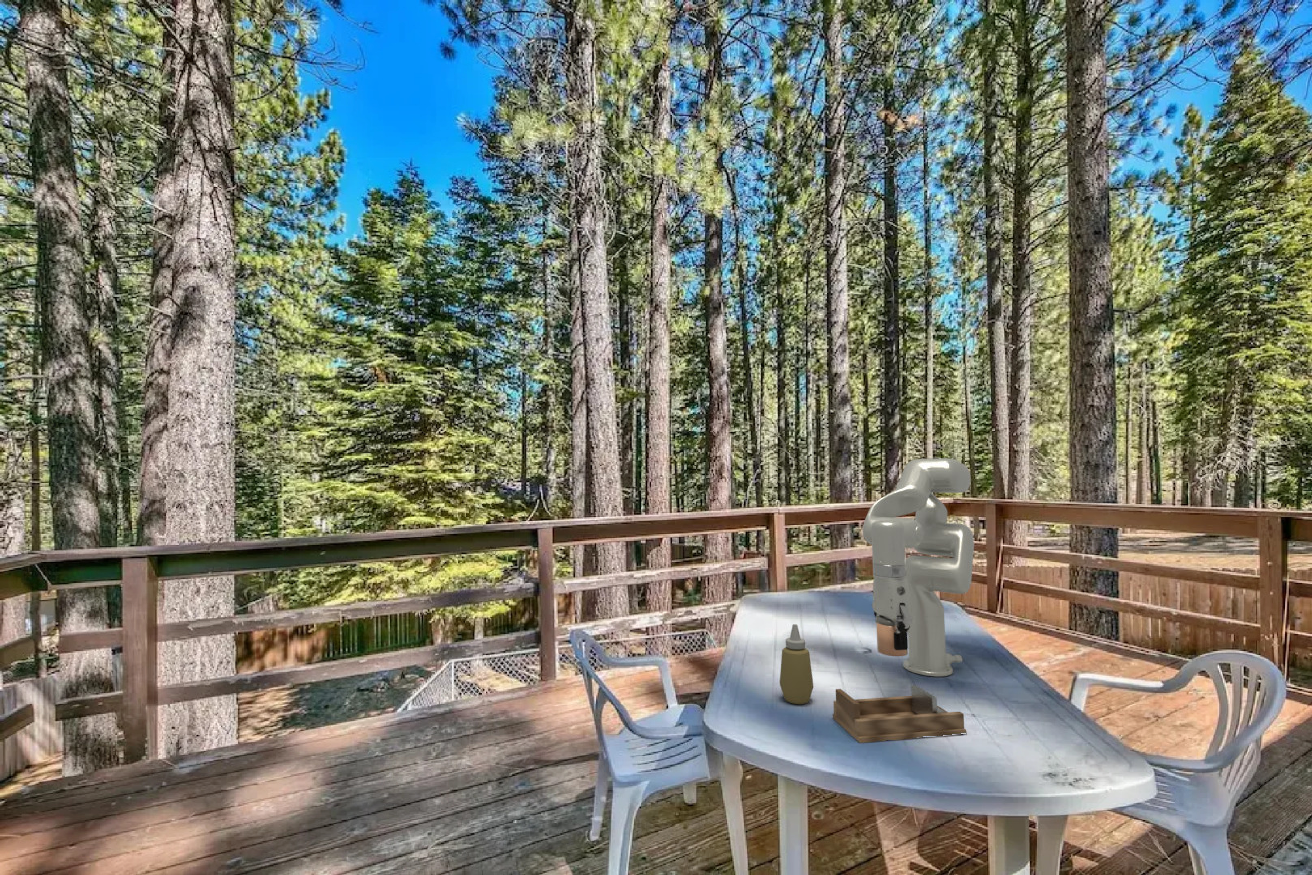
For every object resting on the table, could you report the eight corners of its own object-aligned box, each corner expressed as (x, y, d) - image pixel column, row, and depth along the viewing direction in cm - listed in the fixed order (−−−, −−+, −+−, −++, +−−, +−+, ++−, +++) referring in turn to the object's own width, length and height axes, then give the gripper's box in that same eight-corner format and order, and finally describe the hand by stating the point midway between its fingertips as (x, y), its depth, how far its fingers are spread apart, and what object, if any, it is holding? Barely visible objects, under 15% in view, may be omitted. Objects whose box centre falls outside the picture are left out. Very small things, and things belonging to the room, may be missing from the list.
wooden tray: (930, 711, 129) (929, 680, 129) (966, 734, 117) (964, 700, 117) (832, 718, 125) (831, 686, 126) (859, 742, 113) (858, 707, 114)
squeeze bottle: (814, 696, 138) (812, 622, 139) (812, 708, 130) (810, 630, 132) (781, 692, 141) (780, 619, 142) (777, 704, 133) (776, 627, 134)
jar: (897, 646, 140) (896, 614, 140) (913, 655, 133) (912, 621, 134) (872, 648, 139) (870, 615, 139) (887, 657, 132) (885, 622, 133)
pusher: (924, 709, 126) (923, 684, 127) (946, 724, 119) (945, 697, 119) (912, 710, 126) (911, 685, 126) (933, 725, 118) (932, 698, 119)
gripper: (925, 576, 129) (928, 655, 128) (884, 564, 146) (886, 634, 145) (895, 577, 128) (898, 657, 127) (857, 565, 145) (860, 635, 144)
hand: (892, 644), depth 136 cm, fingers closed on jar, 6 cm apart
